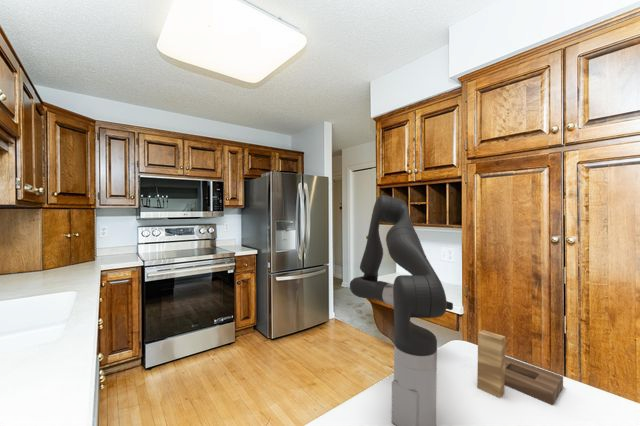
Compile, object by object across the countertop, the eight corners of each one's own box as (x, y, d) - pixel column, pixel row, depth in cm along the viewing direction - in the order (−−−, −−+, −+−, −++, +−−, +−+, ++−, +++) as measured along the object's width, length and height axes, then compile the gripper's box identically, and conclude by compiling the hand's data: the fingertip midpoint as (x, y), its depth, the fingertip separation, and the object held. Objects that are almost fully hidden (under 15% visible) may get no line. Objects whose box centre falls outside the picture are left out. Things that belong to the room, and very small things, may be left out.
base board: (552, 405, 71) (552, 393, 71) (482, 375, 83) (483, 365, 83) (563, 387, 78) (563, 376, 78) (497, 362, 90) (497, 353, 90)
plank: (500, 398, 74) (501, 339, 73) (477, 387, 78) (478, 332, 78) (504, 393, 76) (505, 336, 75) (481, 383, 80) (482, 329, 80)
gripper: (386, 289, 94) (433, 302, 81) (411, 281, 103) (457, 292, 91) (386, 312, 94) (433, 329, 82) (411, 302, 103) (456, 316, 91)
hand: (445, 309), depth 86 cm, fingers open, 8 cm apart
